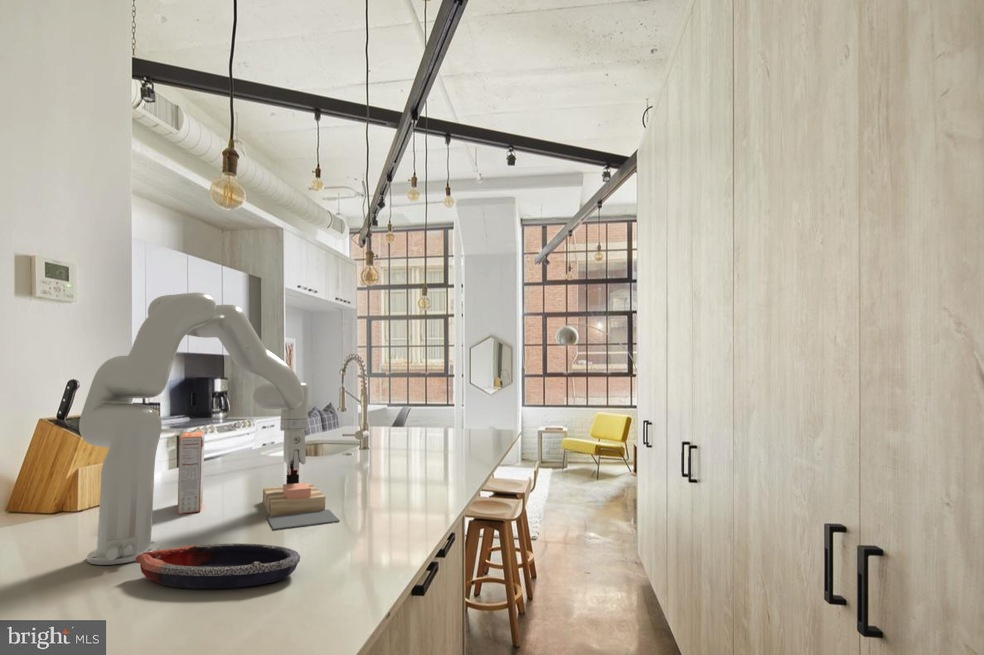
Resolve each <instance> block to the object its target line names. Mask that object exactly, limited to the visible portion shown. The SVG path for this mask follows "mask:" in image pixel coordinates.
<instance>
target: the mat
mask: <svg viewBox="0 0 984 655" xmlns="http://www.w3.org/2000/svg"><path fill="white" fill-rule="evenodd" d="M266 519H267V521H268V523H269V524H270V525H269V526H271V528H273V529H272V530H273V531H278V529H280V530H286V529H287V528H288V529H294V528H295V527H296V528H302V526H303V527H310V526H309V525H311V526H318V525H317V524H319V525H325V524H324V523H327V524H333V523H332V522H335V523H340V522H341V520H340V519H339V518H338V517H337V516H336V515H335V514H334V513H333V512H332V511H331V510H330V509H325V510H319V511H310V512H301V513H293V514H284V515H275V516H270V515H269V516H266ZM339 521H340V522H339Z"/></svg>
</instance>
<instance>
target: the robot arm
mask: <svg viewBox="0 0 984 655" xmlns="http://www.w3.org/2000/svg"><path fill="white" fill-rule="evenodd" d="M185 336H191V337H197V338H203V339H205V338H207V339H208V338H218V340H219V341H220V343H221V345H223V347H224V349H225V350H226V352H227V353H228V355H229V357H230V358H231V359H232V361H233V363H234V364H235V365H236V366H237V367H238V368H239V369H240V368H241V369H242V370H245V371H247V372H249V373H251V374H254V375H257V376H259V377H261V378H263V379H265V380H266V381H267V382H264V383H261V384H259V385H257V387H256V388H255V389H254V391H253V394H252V399H253V402H254V404H255V405H256V406H258V407H259V408H261V409H265V410H280V422H279V423H280V425H279V426H280V427H279V428H280V429H279V430H280V431H281V432H283V462H284V463H285V464H286V483H285V484H294V483H300V464H302V465H305V464H306V463H307V462H306V461H307V460H306V453H307V452H306V433H305V431H307V430H308V426H309V425H308V422H309V418H308V417H309V416H308V414H309V385H308V384H307V383H306V382H301V381H300V379H299V378H298V376H297V374H296V373H295V371H294V370H293V368H292V367H290V365H288V364H287V363H286V362H285V361H284V360H283V359H281V358H280V357H278V356H277V355H276V354H274V353H273V352H271V351H270V350H269V349H267V348H266V347H265V346H264V343H263V341H262V340H261V338H260V337H259V335H258V334H257V332H256V330H255V329H254V327H253V325H252V323H251V322H250V321H249V318H248V317H247V315H246V313H245V312H244V311H243V310H242V308H241V307H239V306H237V305H233V304H216V301H215V299H214V298H213V297H211V295H209V294H207V293H203V292H185V293H178V294H177V293H176V294H167V295H161V296H157V297H156V298H154V299H153V300H152V301H151V302H150V304H149V305H148V308H147V317H146V318H145V320H144V321H143V322H142V324H141V325H140V326H139V330H138V331H137V334H136V336H135V340H134V342H133V344H132V347H131V350H130V351H129V353H128V355H118V356H114V357H112V358H109V359H107V360H106V361H104V363H102V364H101V366H99V368H98V369H97V371H96V372H95V374H94V376H93V379H92V382H91V384H90V388H89V391H88V393H87V396H86V399H85V402H84V404H83V408H82V412H81V413H80V418H79V423H78V429H79V433H80V436H81V438H82V439H83V440H84V442H85V443H87V444H89V445H91V446H94V447H100V448H108V450H107V453H106V455H105V457H104V460H103V462H102V465H101V466H102V467H101V470H100V471H101V472H100V487H99V490H100V492H99V510H98V525H97V528H98V529H97V540H96V541H97V542H96V543H97V544H96V548H95V549H94V550H91V551H90V552H89V553H87V555H86V561H87V563H89V564H92V565H97V566H111V565H121V564H126V563H133V562H136V561H135V559H136V557H137V556H138V555H140V554H142V553H145V552H151V551H157V550H160V544H159V543H158V542H155V541H152V530H153V529H152V526H153V508H154V488H155V465H156V464H155V463H156V456H157V450H158V444H159V442H160V437H161V434H162V429H163V428H162V420H161V419H162V418H161V417H160V414H159V413H158V412H157V411H156V410H155V409H154V408H152V407H151V406H148V405H146V404H143V403H141V404H140V403H133V399H151V398H155V397H158V396H159V395H162V393H163V392H164V390H165V389H166V386H167V384H168V381H169V380H170V375H171V372H172V368H173V365H174V361H175V358H176V355H177V351H178V349H179V347H180V343H181V342H182V340H183V339H184V338H185Z"/></svg>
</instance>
